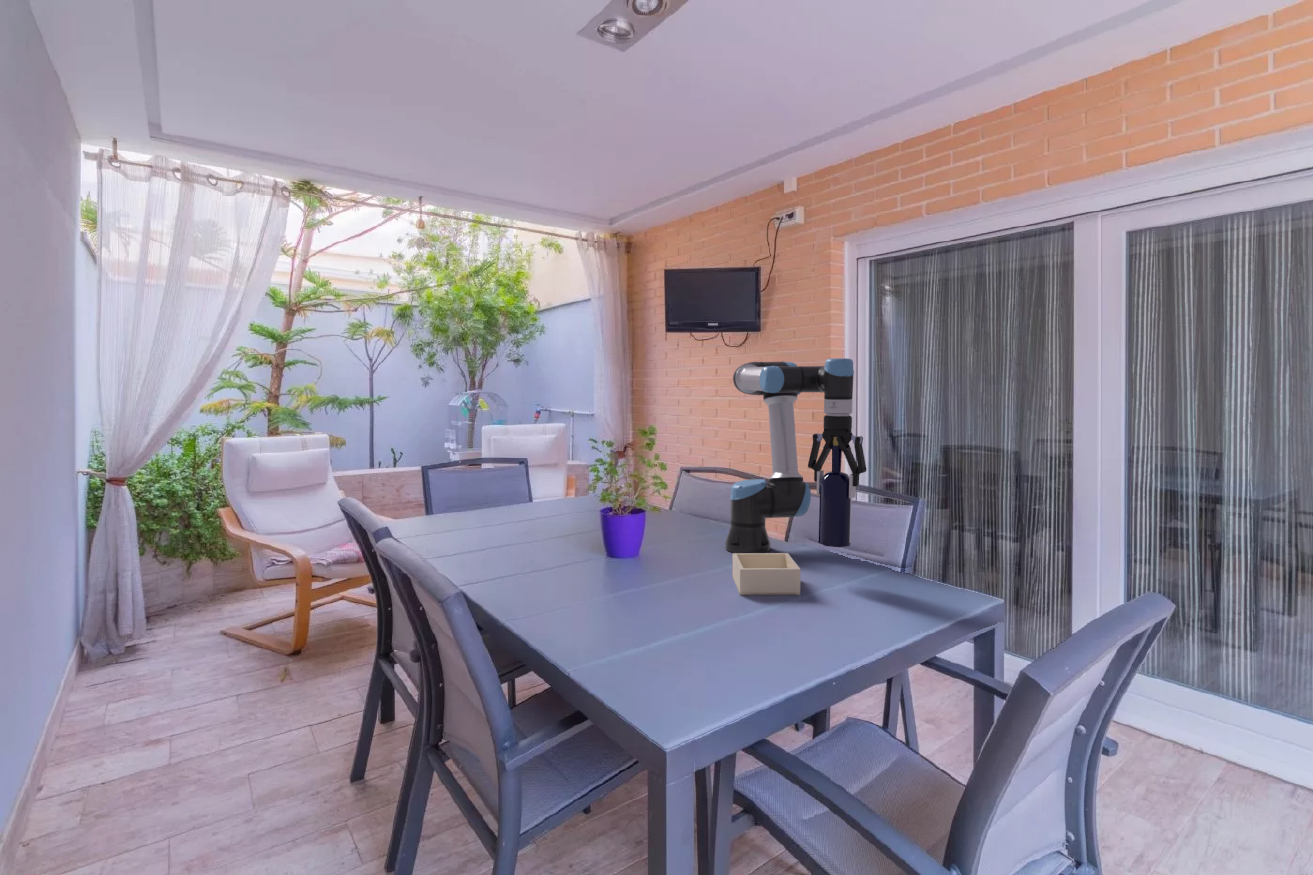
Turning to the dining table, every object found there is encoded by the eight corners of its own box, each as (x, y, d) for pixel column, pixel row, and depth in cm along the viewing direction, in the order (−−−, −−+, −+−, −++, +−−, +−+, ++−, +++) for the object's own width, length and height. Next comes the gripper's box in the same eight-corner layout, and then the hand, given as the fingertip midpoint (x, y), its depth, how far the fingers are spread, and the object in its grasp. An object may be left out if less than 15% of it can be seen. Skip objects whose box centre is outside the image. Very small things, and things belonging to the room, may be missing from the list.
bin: (732, 576, 184) (732, 553, 183) (787, 576, 184) (787, 553, 183) (739, 595, 168) (740, 569, 167) (800, 595, 168) (800, 569, 167)
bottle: (828, 537, 184) (831, 434, 181) (857, 542, 177) (860, 436, 174) (811, 542, 177) (813, 436, 174) (840, 549, 171) (844, 439, 168)
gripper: (795, 414, 178) (794, 493, 180) (871, 417, 164) (868, 502, 166) (808, 412, 184) (806, 489, 186) (881, 415, 170) (879, 498, 172)
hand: (835, 495), depth 176 cm, fingers closed on bottle, 9 cm apart
